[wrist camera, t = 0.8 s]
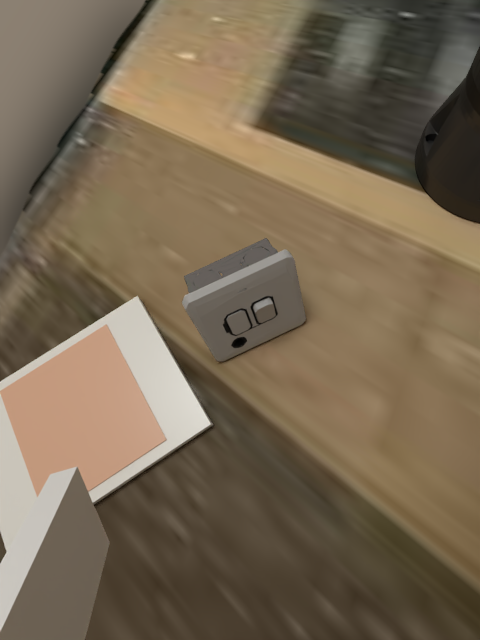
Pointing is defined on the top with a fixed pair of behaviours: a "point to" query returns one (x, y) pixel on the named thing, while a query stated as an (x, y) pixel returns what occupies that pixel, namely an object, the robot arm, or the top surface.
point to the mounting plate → (93, 412)
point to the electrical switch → (245, 299)
